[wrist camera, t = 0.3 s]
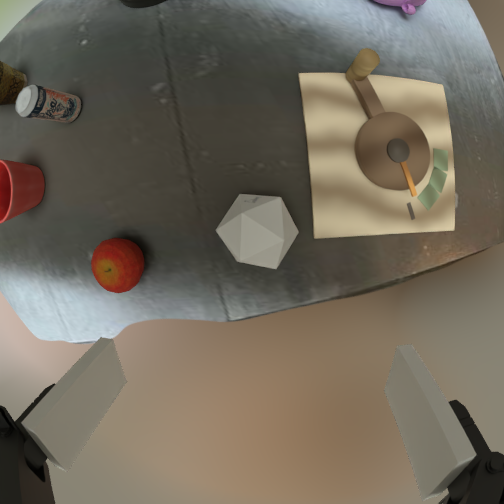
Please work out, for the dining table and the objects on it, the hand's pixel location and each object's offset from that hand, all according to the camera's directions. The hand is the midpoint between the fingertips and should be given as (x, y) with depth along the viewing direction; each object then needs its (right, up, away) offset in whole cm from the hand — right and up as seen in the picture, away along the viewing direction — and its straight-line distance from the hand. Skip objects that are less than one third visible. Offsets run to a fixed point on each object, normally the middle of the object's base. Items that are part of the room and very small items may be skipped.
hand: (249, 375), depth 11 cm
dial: (+17, +21, +20) cm, 33 cm away
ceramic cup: (-50, +38, +23) cm, 67 cm away
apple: (-18, +5, +29) cm, 35 cm away
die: (+1, +9, +26) cm, 28 cm away
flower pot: (-41, +18, +28) cm, 52 cm away
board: (+18, +19, +22) cm, 34 cm away
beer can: (-30, +29, +24) cm, 48 cm away
